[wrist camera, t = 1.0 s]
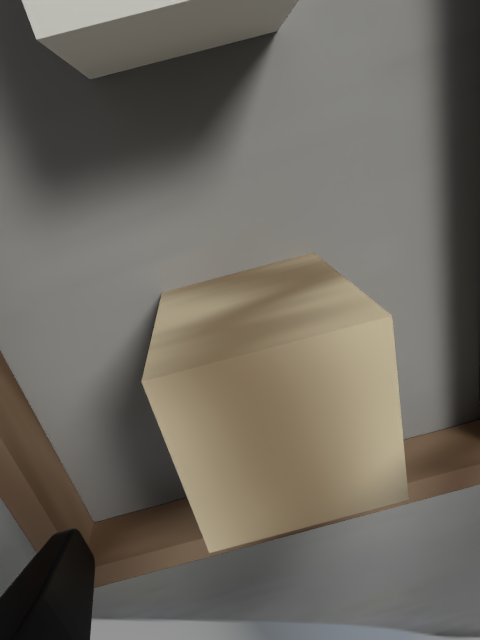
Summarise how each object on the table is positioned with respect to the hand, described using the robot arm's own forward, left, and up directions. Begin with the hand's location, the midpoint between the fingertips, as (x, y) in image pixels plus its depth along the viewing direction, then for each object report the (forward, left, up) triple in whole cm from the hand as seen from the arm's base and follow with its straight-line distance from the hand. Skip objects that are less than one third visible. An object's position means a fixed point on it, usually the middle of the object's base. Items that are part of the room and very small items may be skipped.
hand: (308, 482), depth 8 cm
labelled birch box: (0, 0, -7) cm, 7 cm away
